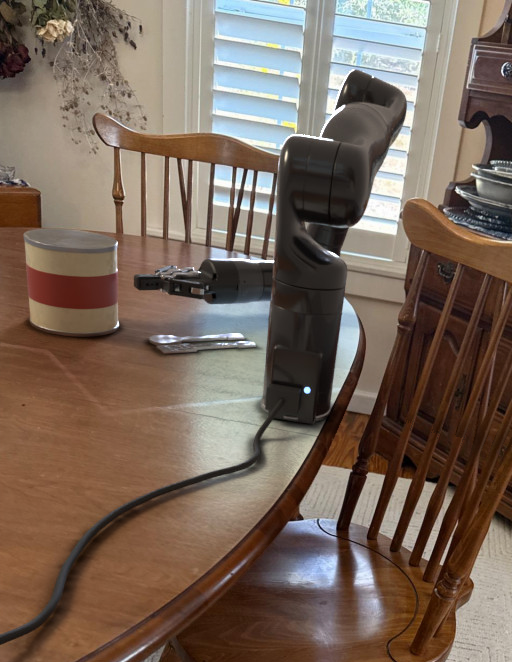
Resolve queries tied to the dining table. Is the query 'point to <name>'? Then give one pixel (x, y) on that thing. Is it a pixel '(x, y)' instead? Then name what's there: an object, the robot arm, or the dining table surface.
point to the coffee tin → (72, 282)
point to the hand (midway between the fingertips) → (135, 282)
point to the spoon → (191, 338)
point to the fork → (203, 347)
